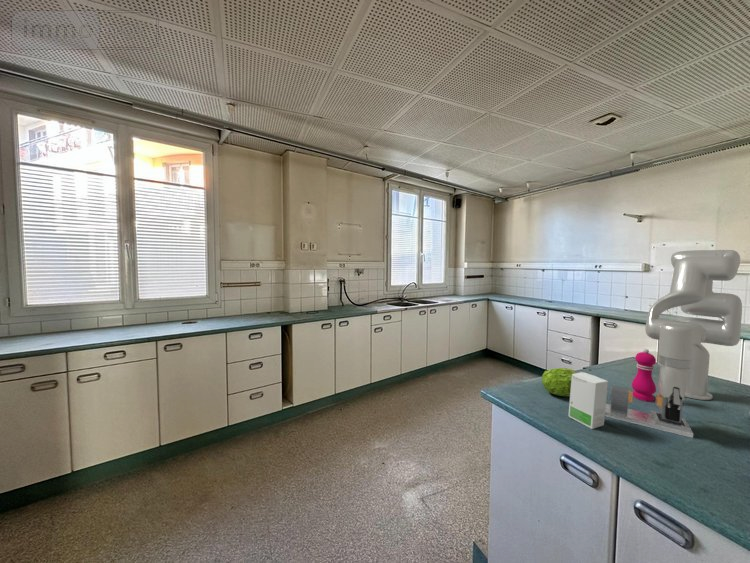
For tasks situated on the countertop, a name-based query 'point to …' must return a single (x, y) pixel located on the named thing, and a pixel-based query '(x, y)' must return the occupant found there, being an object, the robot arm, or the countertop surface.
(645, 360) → the pepper mill
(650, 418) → the rail
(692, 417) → the countertop surface
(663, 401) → the grey block
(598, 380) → the skincare box
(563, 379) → the lettuce
